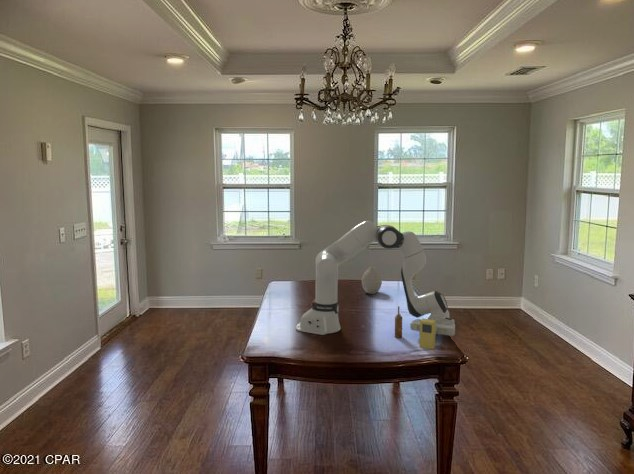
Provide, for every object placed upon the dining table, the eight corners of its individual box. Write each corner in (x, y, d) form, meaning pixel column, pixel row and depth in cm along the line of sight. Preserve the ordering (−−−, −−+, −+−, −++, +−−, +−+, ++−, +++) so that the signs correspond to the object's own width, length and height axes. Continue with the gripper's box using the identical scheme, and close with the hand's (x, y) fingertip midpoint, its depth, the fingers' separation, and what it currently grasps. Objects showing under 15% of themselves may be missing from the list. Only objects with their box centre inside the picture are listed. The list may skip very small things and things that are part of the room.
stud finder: (421, 344, 217) (422, 318, 215) (435, 346, 215) (435, 320, 213) (419, 347, 214) (420, 321, 212) (433, 349, 211) (433, 323, 209)
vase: (365, 295, 303) (365, 269, 301) (359, 290, 316) (359, 265, 313) (384, 294, 306) (384, 269, 303) (377, 289, 318) (378, 264, 316)
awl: (394, 338, 225) (394, 307, 223) (395, 335, 228) (395, 305, 226) (401, 338, 224) (402, 307, 222) (402, 336, 227) (402, 305, 225)
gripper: (414, 314, 232) (406, 322, 220) (457, 320, 224) (452, 329, 211) (414, 326, 233) (406, 336, 221) (457, 333, 224) (451, 342, 212)
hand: (429, 332), depth 216 cm, fingers closed
